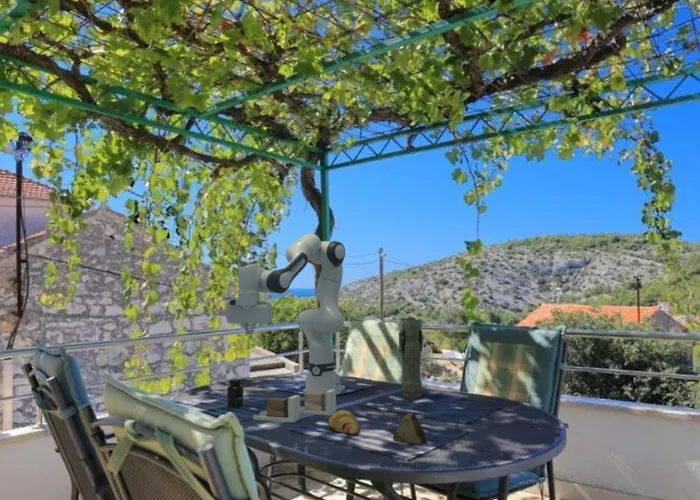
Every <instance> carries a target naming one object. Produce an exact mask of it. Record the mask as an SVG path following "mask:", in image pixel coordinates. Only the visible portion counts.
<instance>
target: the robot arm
mask: <svg viewBox="0 0 700 500" xmlns="http://www.w3.org/2000/svg"><path fill="white" fill-rule="evenodd" d="M345 257H346V248H345V245H344V244H343V243H342V242H340V241H337V240H329V241H328V240H324V241H323V240H322V241H321V239H320V237H319V236H318V235H317V234H314V233H307V234H305V235H302V236H300V237H299V238H298V239H297V240H295V241H293V242H292V243H291V244H290V245H289V246H288V247H287V249H286V250H285V258H286V261H287V262H288V263H287V264H286V266H284V267H283V268H281V269H280V268H279V269H267V270H266V269H265V268H263V267H262V266H260V265H259V264H258V262H252V261H251V262H244V263H242V264H241V265H240V266H239V269H238V274H237V276H238V277H237V278H238V279H237V284H238V291H237V297H235V298H233V299H232V298H231V299H229V300H227V309H226V313H225V314H226V322H227V323H229V324H242V327H243V329H244V333H245V335H253V334H254V330H255V328H256V326H257V324H265V325H266V324H271V323H272V322H273V313H272V304H271V303H270V302H269V301H267V300H260V295H261V294H260V293H268V294H270V293H271V294H272V293H273V294H278V295H279V294H283V293H286V292H287V291H288V289H290V287H291V284H292V282H293V281H294V279H295V278H296V277H297V276H298V275H299V274H300V273H301V272H302V271H303V270H304V269H305V267H306V266H307V265H308V264H311V265H321V271H320V275H319V278H318V282H317V285H316V289H315V298H316V299H317V300H318V301H319V308H318V309H306V310H303V311H301V312H300V313H299V315H298V318H297V324H298V327H299V328H300V330H302V332H303V333H304V336H305V338H306V341H307V345H308V354H309V355H308V356H309V357H308V358H309V359H308V360H309V362H308V366H307V367H308V368H307V369H308V372H307V373H306V376H305V387H304V388H303V389H302V392H303V393H307V392H319V393H325V392H327V391H329V390H331V389H333V390H336V395H340V394H342V392H343V391H344V390H345V389H346V386H345V385H341V376H340V375H339V374H338V373H337V371H336V370H335V367H336V366H337V362H336V361H333V358H334V355H333V345H332V343H331V342H330V341H329V340H328V338H327V336H326V334H328V335H329V334H336V333H339V332H341V330H342V329H343V328H344V324H345V320H344V316H343V314H342V313H341V311H340V309H339V294H340V290H341V286H342V282H343V281H342V280H343V271H344V267H343V262H344V259H345ZM249 325H250V329H249V328H248V327H249Z"/></svg>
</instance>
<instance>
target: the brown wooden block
mask: <svg viewBox="0 0 700 500" xmlns="http://www.w3.org/2000/svg"><path fill="white" fill-rule="evenodd" d="M266 413H267V416H269V417H281V418H288V398H287V397H286V398H284V397H270V398H267V399H266Z"/></svg>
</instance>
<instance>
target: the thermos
mask: <svg viewBox="0 0 700 500" xmlns="http://www.w3.org/2000/svg"><path fill="white" fill-rule="evenodd" d="M423 345H424V344H423V330H422V328H420V325H419V321H418V319H416V318H412V317H411V318H404V319H403V320H402V324H401V329H400V330H399V332H398V352H399V353H401V355H400V357H401V359H402V362H401V363H402V380H401V393H402V397H401V398H402V399H406V400H408V399H410V400H414V399H415V400H416V399H421V398H422V397H423V396H422V392H423V383H422V379H421V358H422V352H423V348H424V347H423Z"/></svg>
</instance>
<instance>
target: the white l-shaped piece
mask: <svg viewBox="0 0 700 500" xmlns="http://www.w3.org/2000/svg"><path fill="white" fill-rule="evenodd" d="M335 412H337V394H336V390H333V389H331V390H329V391H327V392H325V411H315V410H305V406H303V405H302V406H301V405H300V414H304V415H305V414H306V415H318V416H319V415H320V416H329V417H330V415H332V414H334V413H335Z"/></svg>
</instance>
